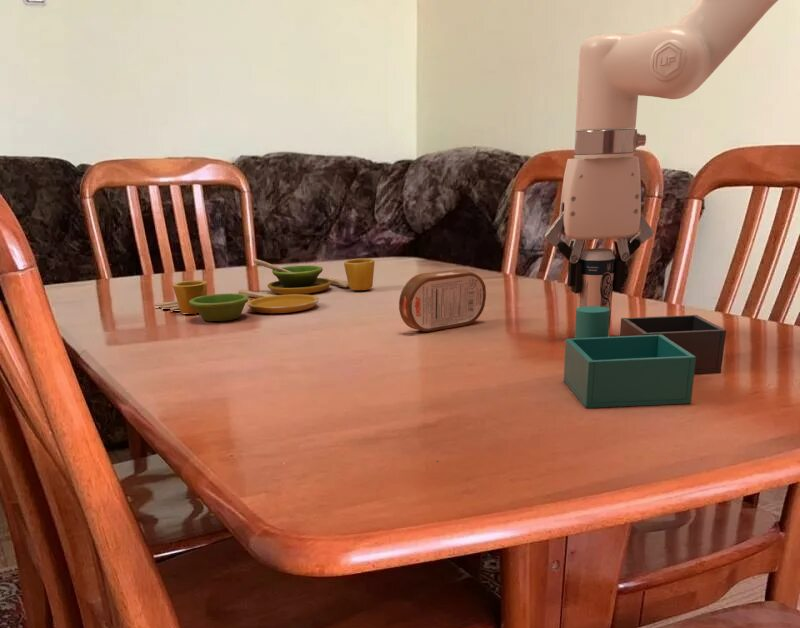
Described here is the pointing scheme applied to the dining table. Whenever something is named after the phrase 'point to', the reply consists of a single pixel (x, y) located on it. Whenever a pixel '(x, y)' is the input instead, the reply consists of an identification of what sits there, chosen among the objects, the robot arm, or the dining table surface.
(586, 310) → the teal peg
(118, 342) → the dining table surface
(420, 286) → the tin
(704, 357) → the charcoal bin
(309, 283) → the tableware set
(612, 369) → the teal bin
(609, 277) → the beer can
